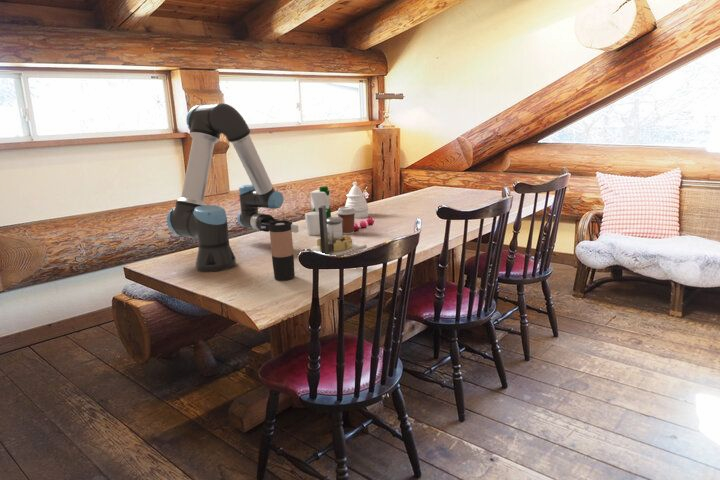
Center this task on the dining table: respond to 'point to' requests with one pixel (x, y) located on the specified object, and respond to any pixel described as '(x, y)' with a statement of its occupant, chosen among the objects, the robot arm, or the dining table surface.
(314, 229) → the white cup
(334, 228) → the white lidded jar
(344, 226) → the coffee cup
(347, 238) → the grey and gold stand
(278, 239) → the travel mug
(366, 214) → the honey pot
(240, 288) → the dining table surface
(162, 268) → the dining table surface
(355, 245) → the base plate
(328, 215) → the milk carton
